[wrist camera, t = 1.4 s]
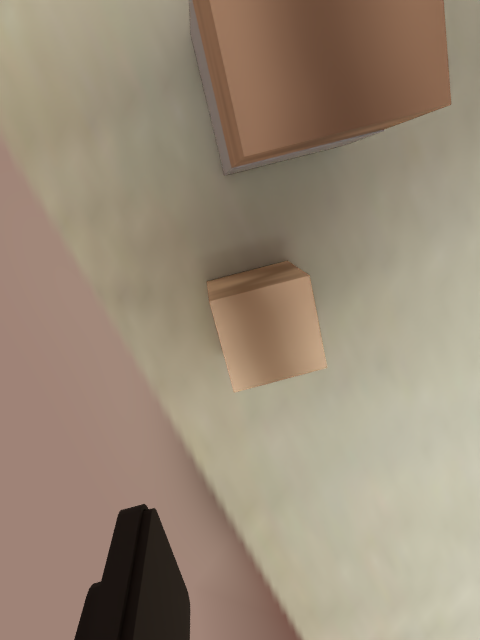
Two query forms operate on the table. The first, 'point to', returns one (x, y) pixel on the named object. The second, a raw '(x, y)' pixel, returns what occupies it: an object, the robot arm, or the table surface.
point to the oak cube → (267, 324)
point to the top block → (320, 69)
